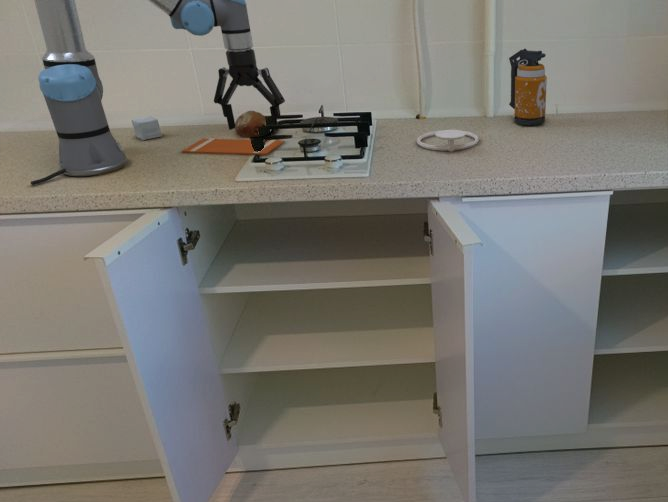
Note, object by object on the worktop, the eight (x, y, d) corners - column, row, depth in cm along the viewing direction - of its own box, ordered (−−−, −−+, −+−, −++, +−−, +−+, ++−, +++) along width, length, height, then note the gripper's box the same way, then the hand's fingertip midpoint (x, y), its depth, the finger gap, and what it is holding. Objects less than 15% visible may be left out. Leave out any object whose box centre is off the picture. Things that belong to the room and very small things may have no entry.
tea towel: (266, 155, 175) (266, 153, 175) (182, 152, 179) (181, 150, 178) (284, 142, 185) (283, 140, 185) (203, 140, 189) (203, 138, 188)
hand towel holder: (474, 116, 187) (485, 136, 170) (474, 132, 190) (485, 153, 173) (413, 119, 186) (418, 139, 168) (414, 135, 188) (419, 157, 171)
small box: (154, 133, 196) (150, 116, 194) (162, 136, 193) (158, 119, 190) (135, 137, 193) (130, 119, 190) (143, 140, 190) (138, 123, 187)
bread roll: (261, 140, 201) (248, 114, 198) (282, 128, 194) (269, 101, 192) (237, 148, 193) (223, 122, 191) (258, 137, 187) (244, 109, 185)
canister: (536, 128, 192) (539, 53, 181) (502, 124, 197) (503, 50, 186) (550, 121, 198) (553, 48, 187) (516, 117, 203) (518, 45, 192)
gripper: (288, 47, 183) (300, 126, 194) (203, 46, 186) (220, 124, 198) (277, 51, 176) (290, 133, 188) (190, 51, 180) (208, 131, 192)
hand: (254, 129), depth 193 cm, fingers open, 13 cm apart
